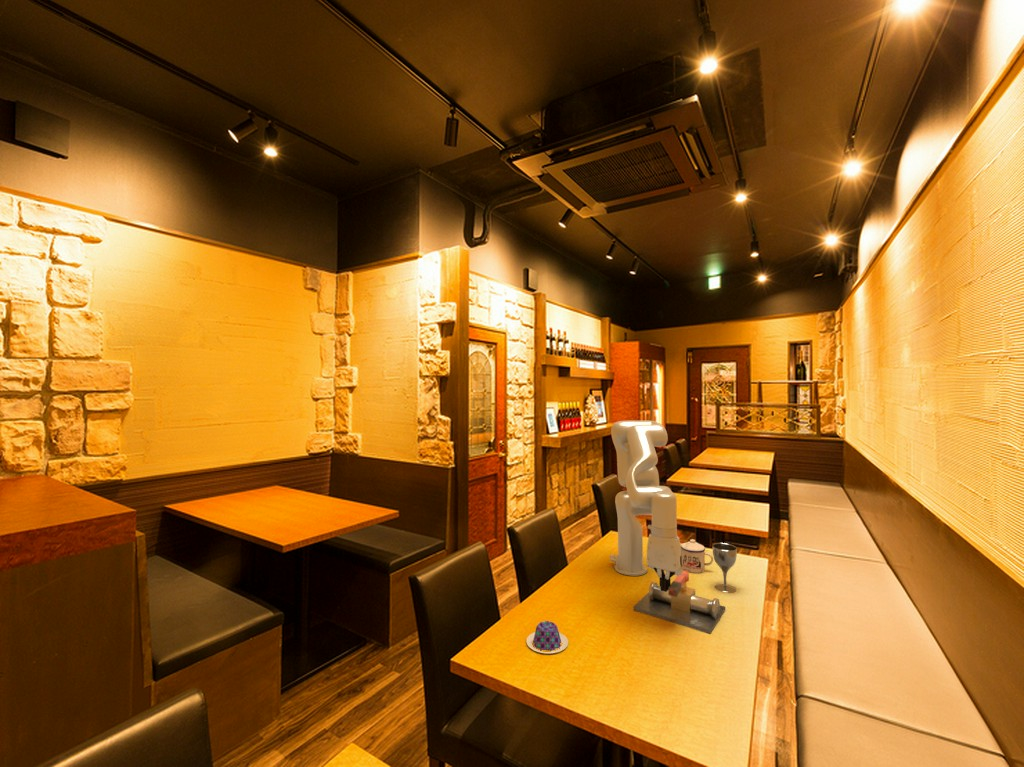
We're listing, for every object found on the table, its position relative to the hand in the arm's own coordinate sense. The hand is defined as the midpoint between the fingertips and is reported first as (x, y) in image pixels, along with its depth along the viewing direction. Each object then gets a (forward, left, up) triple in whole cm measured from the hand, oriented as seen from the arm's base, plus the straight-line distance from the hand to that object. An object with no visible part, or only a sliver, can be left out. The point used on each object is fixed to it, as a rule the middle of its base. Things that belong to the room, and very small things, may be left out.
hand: (665, 589), depth 141 cm
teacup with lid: (-4, +46, -10) cm, 47 cm away
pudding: (-23, -33, -10) cm, 41 cm away
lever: (+3, +4, 0) cm, 5 cm away
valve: (+1, +9, -10) cm, 13 cm away
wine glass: (+9, +35, -10) cm, 38 cm away
